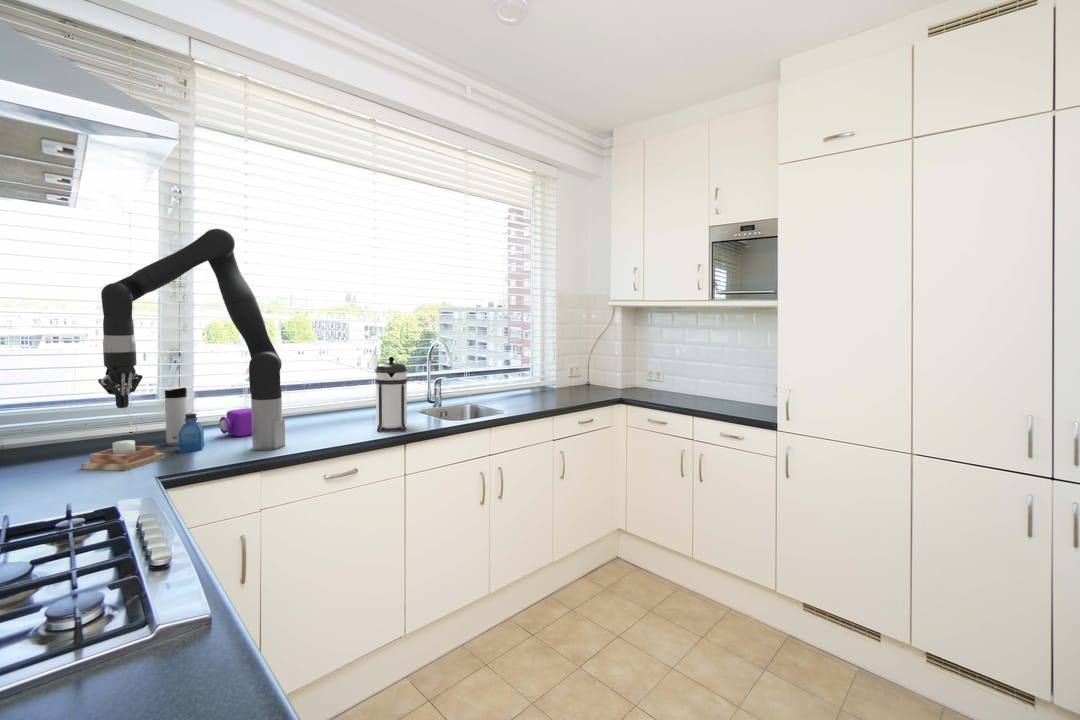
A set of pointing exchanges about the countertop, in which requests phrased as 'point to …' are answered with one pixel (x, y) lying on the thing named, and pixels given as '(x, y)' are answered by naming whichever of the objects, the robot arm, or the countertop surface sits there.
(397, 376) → the coffee press
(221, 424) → the toy camera
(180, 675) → the countertop surface
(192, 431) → the perfume bottle
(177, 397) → the travel mug
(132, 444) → the white cube
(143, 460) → the socket stand
